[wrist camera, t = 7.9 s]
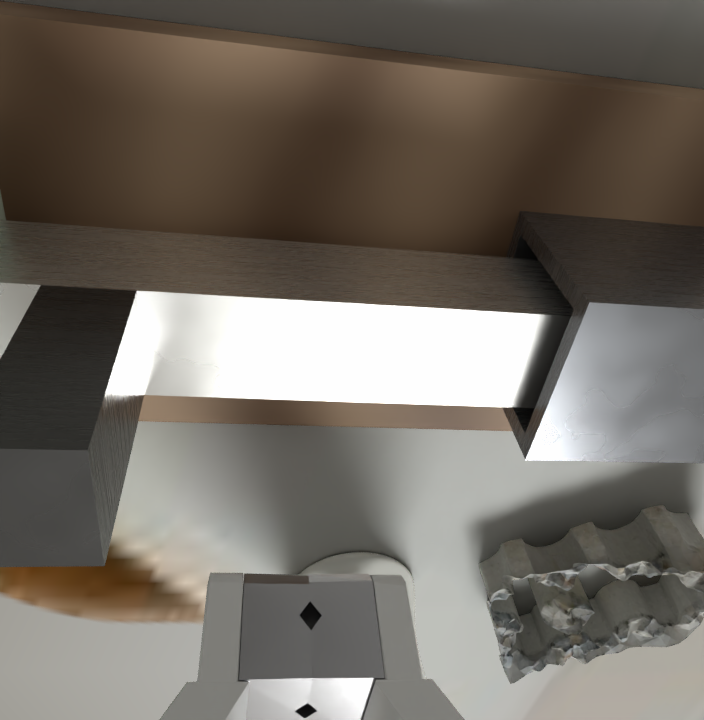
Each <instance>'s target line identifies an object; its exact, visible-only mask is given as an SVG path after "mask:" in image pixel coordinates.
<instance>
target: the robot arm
mask: <svg viewBox="0 0 704 720" xmlns="http://www.w3.org/2000/svg"><path fill="white" fill-rule="evenodd" d="M160 720H464V718H463V717H462V716H461V715H460V713H459V712H458V711H457V710H456V708H455V707H454V706H453V705H452V703H451V702H450V701H449V700H448V698H447V697H446V696H445V695H444V693H443V692H442V691H441V690H440V688H439V687H438V686H437V685H436V683H435V682H434V681H433V680H432V679H423V678H422V672H421V667H420V661H419V655H418V650H417V644H416V638H415V632H414V627H413V621H412V615H411V610H410V604H409V598H408V592H407V587H406V582H405V580H404V579H403V577H402V576H401V575H369V574H307V575H291V574H244V584H243V573H210V577H209V581H208V586H207V595H206V604H205V614H204V623H203V633H202V642H201V651H200V661H199V670H198V680H197V682H187V683H186V684H185V686H184V687H183V688H182V690H181V691H180V693H179V694H178V695H177V697H176V698H175V699H174V701H173V702H172V703H171V705H170V706H169V707H168V709H167V710H166V712H165V713H164V714H163V716H162V717H161V718H160Z"/></svg>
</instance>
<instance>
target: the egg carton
mask: <svg viewBox="0 0 704 720" xmlns="http://www.w3.org/2000/svg"><path fill="white" fill-rule="evenodd" d="M588 564H590V565H595V566H597V567H598V568H600V569H602V570H606V571H608V572H609V573H610V574H611V575H613V576H614V577H616V578H617V579H619V580H617V581H614V582H611V583H609V584H607V585H605V586H603V587H602V588H601V589H600V590H599V591H598V592H597V594H596V595H595V597H594V598H593V599H589V600H588V598H587V596H586V593H585V591H584V589H583V586H582V584H581V582H580V580H579V578H578V574H579V573H580V572H581V571H582V570H584V569H586V568H587V566H588ZM479 568H480V572H481V575H482V578H483V581H484V584H485V587H486V590H487V594H488V597H489V600H488V601H487V606H488V611H489V613H490V616H491V619H492V622H493V626H494V630H495V634H496V637H497V640H498V646H499V650H500V653H501V655H499V657H500V660H501V663H502V665H503V668H504V671H505V673H506V675H507V677H508V680H509V682H510V683H515V682H516V681H518V680H519V679H521V678H522V677H524V676H525V675H527V674H529V673H531V672H533V671H541V670H543V669H544V667H545V666H546V665H547V664H555V665H559V664H560V665H562V666H563V665H564V664H565V662H566V660H567V659H568V658H574V659H575V660H577V661H579V662H581V663H583V664H587V663H588V662H589V661H591V660H592V659H594V658H595V657H597V656H601V655H605V654H612V653H619V652H621V651H623V650H625V649H627V648H630V647H639V646H640V647H668V646H672V645H675V644H679V643H680V642H682V641H683V640H684V639H686V638H687V637H688V636H689V635H690V634H691V633H692V632H693V631H694V630H695V629H696V628H697V627H698V626H699V625H700V624H701V622H702V620H703V618H704V539H703V537H702V535H701V534H700V533H699V531H698V530H697V528H696V527H695V525H694V524H693V522H692V520H691V519H690V517H689V516H688V514H687V513H672V512H669V511H668V510H666V508H665V507H664V505H657V506H652V507H649V508H645V509H642V510H641V512H640V514H639V515H638V516H637V517H636V519H635V520H634V521H632V522H631V523H629V524H628V525H626V526H623V527H621V528H618V529H614V530H604V529H600V528H597V527H596V526H595V525H594V524H593V522H592V521H590V522H587V523H584V524H582V525H579V526H576V527H573V528H570V529H569V531H568V533H567V534H566V536H565V537H564V538H563V539H561V540H560V541H558V542H556V543H554V544H552V545H549V546H545V547H533V546H530V545H528V544H526V543H525V542H524V541H523V539H522V538H521V539H515V540H511V541H507V542H505V543H502V544H500V547H499V550H498V551H497V553H496V554H495V555H494V556H492V557H491V558H489V559H487V560H485V561H483V562H481V563H479ZM633 575H645V576H647V577H648V578H652V577H653V576H657V575H662V576H661V577H660V579H659V582H658V583H656V584H653V585H649V586H644V587H639V585H638V583H636V582H635V581H633V580H628V579H629V578H630V577H631V576H633ZM524 578H528V581H529V584H530V586H531V589H532V592H533V595H534V597H535V600H536V603H537V604H536V605H535V606H534V607H533V609H532V611H531V613H529V614H525V615H521V616H519V615H518V612H517V609H516V607H515V604H514V601H513V598H512V594H514V590H513V580H523V579H524Z"/></svg>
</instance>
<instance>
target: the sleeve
mask: <svg viewBox="0 0 704 720" xmlns="http://www.w3.org/2000/svg"><path fill="white" fill-rule="evenodd" d="M506 257H510V258H524V259H538V260H539V261H540V262H541V264H542V265H543V267H544V268H545V269H546V271H547V272H548V274H549V275H550V276H551V278H552V279H553V281H554V282H555V283H556V285H557V286H558V288H559V289H560V290H561V292H562V293H563V295H564V296H565V298H566V299H567V300H568V302H569V303H570V305H571V306H572V307H573V309H574V310H573V312H572V315H571V318H570V320H569V323H568V325H567V328H566V330H565V333H564V335H563V338H562V340H561V343H560V346H559V348H558V351H557V353H556V356H555V358H554V361H553V363H552V366H551V368H550V371H549V374H548V376H547V379H546V381H545V384H544V386H543V389H542V391H541V394H540V397H539V399H538V402H537V404H536V407H535V408H519V407H502V408H503V410H504V413H505V415H506V417H507V419H508V422H509V424H510V426H511V428H512V431H513V433H514V435H515V437H516V440H517V442H518V444H519V446H520V449H521V451H522V453H523V455H524V458H525V460H558V461H610V462H662V463H704V227H702V226H690V225H679V224H667V223H656V222H644V221H633V220H621V219H609V218H598V217H586V216H575V215H563V214H552V213H540V212H528V211H520V213H519V216H518V219H517V223H516V226H515V229H514V233H513V236H512V239H511V242H510V246H509V249H508V252H507V256H506Z"/></svg>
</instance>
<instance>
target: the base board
mask: <svg viewBox="0 0 704 720" xmlns="http://www.w3.org/2000/svg"><path fill="white" fill-rule="evenodd" d="M0 192H1V197H2V202H3V207H4V212H5V217H6V220H8V221H22V222H35V223H49V224H62V225H76V226H90V227H103V228H117V229H130V230H144V231H157V232H171V233H185V234H198V235H212V236H225V237H239V238H252V239H266V240H280V241H293V242H307V243H320V244H334V245H348V246H361V247H375V248H388V249H402V250H415V251H429V252H443V253H456V254H470V255H483V256H497V257H506V256H507V252H508V249H509V246H510V242H511V239H512V236H513V233H514V229H515V226H516V223H517V219H518V216H519V213H520V211H528V212H540V213H552V214H563V215H575V216H586V217H598V218H609V219H621V220H633V221H644V222H656V223H667V224H679V225H690V226H702V227H704V89H697V88H689V87H681V86H673V85H665V84H657V83H650V82H642V81H634V80H626V79H618V78H610V77H602V76H594V75H586V74H578V73H570V72H562V71H554V70H546V69H538V68H530V67H522V66H514V65H506V64H498V63H490V62H482V61H474V60H466V59H458V58H450V57H442V56H434V55H426V54H418V53H411V52H403V51H395V50H387V49H379V48H371V47H363V46H355V45H347V44H339V43H331V42H323V41H315V40H307V39H299V38H291V37H283V36H275V35H267V34H259V33H251V32H243V31H235V30H227V29H219V28H211V27H203V26H195V25H187V24H179V23H172V22H164V21H156V20H148V19H140V18H132V17H124V16H116V15H108V14H100V13H92V12H84V11H76V10H68V9H60V8H52V7H44V6H36V5H28V4H20V3H12V2H4V1H0ZM138 421H155V422H193V423H230V424H267V425H304V426H341V427H379V428H416V429H453V430H490V431H512V428H511V426H510V424H509V422H508V419H507V417H506V415H505V413H504V410H503V408H502V407H489V406H459V405H429V404H399V403H369V402H339V401H309V400H279V399H249V398H219V397H189V396H159V395H144V398H143V403H142V407H141V411H140V415H139V420H138Z"/></svg>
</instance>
